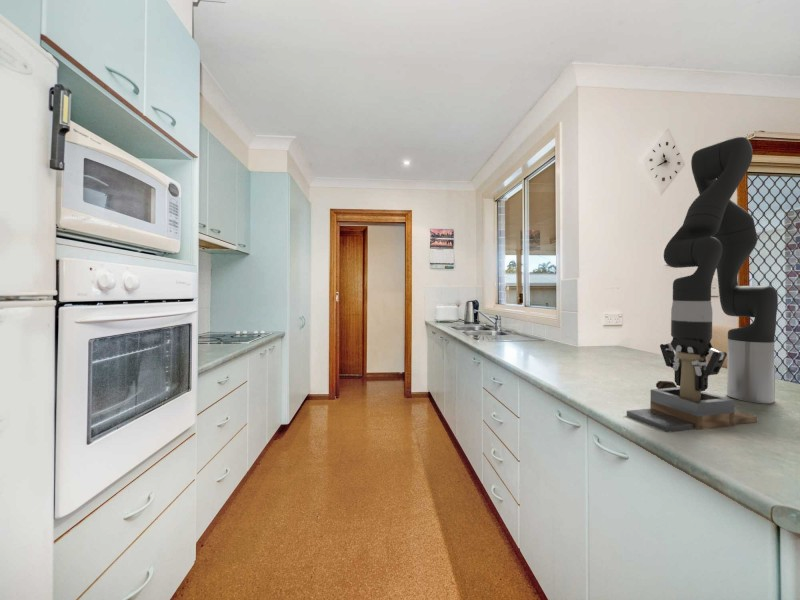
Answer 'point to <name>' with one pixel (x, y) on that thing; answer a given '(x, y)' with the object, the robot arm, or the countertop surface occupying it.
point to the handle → (688, 376)
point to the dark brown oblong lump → (665, 384)
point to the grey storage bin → (681, 409)
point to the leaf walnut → (707, 417)
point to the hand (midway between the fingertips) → (690, 387)
